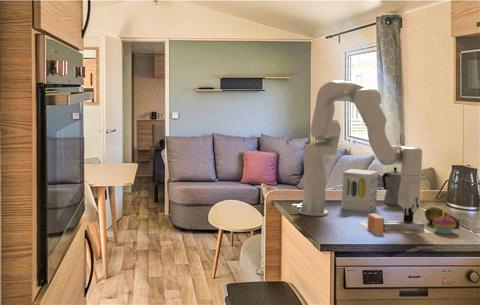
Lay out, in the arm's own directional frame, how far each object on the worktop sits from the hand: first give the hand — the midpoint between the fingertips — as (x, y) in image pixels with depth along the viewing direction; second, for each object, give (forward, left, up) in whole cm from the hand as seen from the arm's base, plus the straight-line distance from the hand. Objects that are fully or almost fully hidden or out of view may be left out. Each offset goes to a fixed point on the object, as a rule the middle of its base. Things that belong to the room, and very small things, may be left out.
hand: (407, 224), depth 214 cm
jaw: (-3, -3, -1) cm, 4 cm away
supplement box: (-4, +41, -3) cm, 41 cm away
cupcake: (+11, -8, -2) cm, 14 cm away
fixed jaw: (-5, -4, -1) cm, 6 cm away
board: (-6, 0, -2) cm, 6 cm away
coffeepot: (+17, +51, -2) cm, 54 cm away
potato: (+16, +3, -2) cm, 16 cm away
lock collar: (-15, -4, -1) cm, 16 cm away
